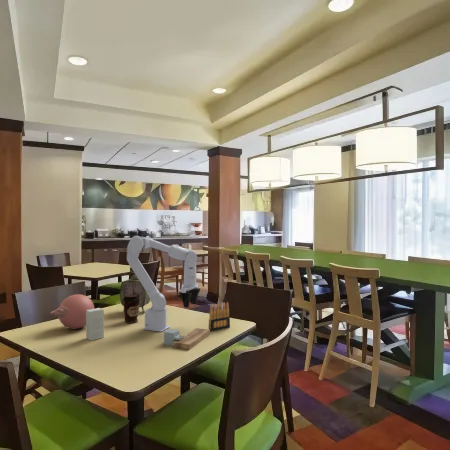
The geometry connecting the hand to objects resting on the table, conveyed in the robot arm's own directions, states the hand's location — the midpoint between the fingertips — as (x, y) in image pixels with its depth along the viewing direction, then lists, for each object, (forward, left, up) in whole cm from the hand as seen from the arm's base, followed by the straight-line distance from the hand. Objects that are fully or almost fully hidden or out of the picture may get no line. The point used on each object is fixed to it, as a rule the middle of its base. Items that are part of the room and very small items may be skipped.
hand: (189, 305), depth 165 cm
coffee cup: (-30, -3, -10) cm, 32 cm away
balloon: (-48, -23, -10) cm, 54 cm away
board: (+10, -17, -10) cm, 22 cm away
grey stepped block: (+4, -23, -10) cm, 25 cm away
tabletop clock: (-39, +14, -10) cm, 43 cm away
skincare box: (-30, -29, -10) cm, 43 cm away
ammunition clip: (+14, +2, -10) cm, 17 cm away
